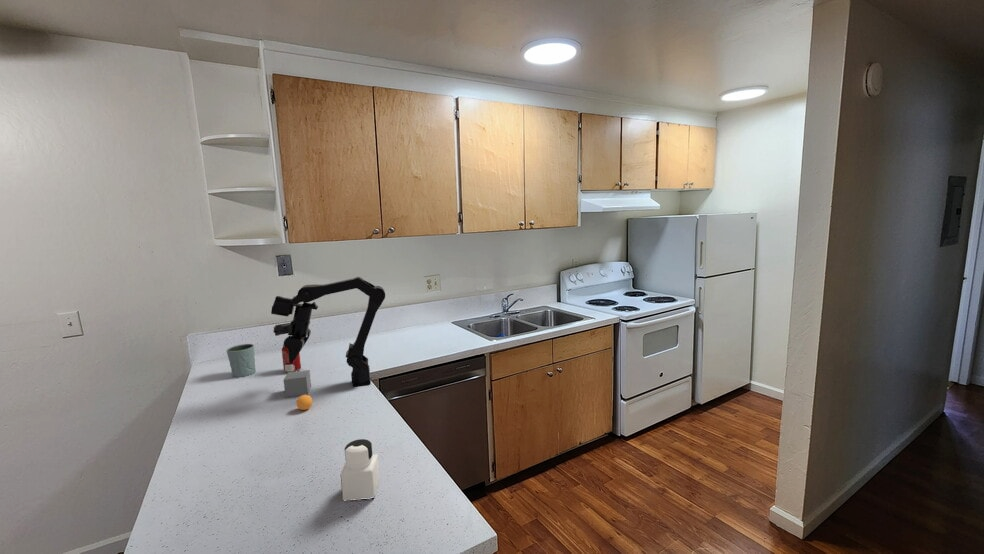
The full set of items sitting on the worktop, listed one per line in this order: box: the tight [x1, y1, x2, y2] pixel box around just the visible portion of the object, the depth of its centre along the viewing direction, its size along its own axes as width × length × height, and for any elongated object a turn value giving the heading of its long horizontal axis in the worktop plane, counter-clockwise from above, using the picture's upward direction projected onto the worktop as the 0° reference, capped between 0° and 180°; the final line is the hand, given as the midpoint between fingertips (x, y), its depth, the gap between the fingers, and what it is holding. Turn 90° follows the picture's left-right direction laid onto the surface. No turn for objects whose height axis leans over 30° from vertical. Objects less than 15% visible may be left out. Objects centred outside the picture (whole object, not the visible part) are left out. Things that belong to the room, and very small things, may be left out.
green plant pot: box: [226, 343, 257, 378], centre depth 179 cm, size 10×10×12 cm
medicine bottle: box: [340, 438, 381, 501], centre depth 98 cm, size 7×7×12 cm
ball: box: [296, 394, 313, 411], centre depth 143 cm, size 5×5×5 cm
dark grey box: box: [283, 369, 312, 398], centre depth 158 cm, size 8×8×7 cm
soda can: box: [281, 344, 302, 373], centre depth 181 cm, size 7×7×12 cm
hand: (293, 359), depth 157 cm, fingers open, 9 cm apart
